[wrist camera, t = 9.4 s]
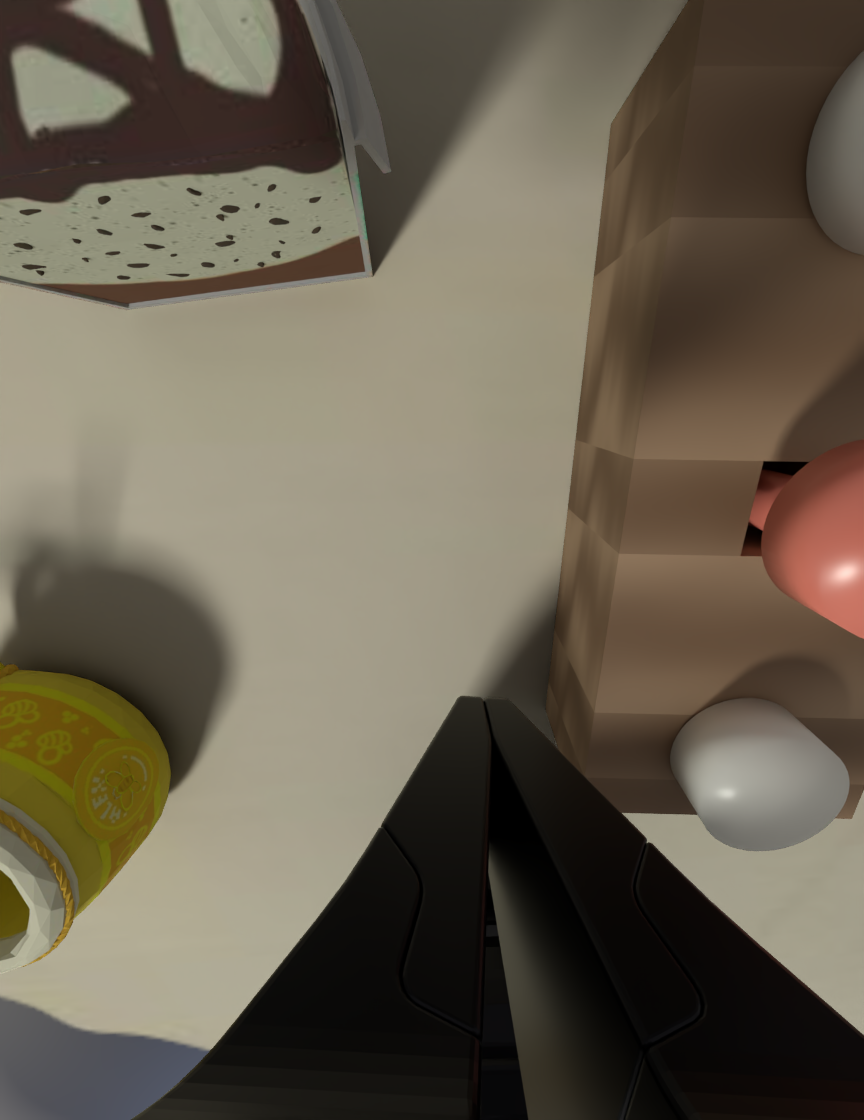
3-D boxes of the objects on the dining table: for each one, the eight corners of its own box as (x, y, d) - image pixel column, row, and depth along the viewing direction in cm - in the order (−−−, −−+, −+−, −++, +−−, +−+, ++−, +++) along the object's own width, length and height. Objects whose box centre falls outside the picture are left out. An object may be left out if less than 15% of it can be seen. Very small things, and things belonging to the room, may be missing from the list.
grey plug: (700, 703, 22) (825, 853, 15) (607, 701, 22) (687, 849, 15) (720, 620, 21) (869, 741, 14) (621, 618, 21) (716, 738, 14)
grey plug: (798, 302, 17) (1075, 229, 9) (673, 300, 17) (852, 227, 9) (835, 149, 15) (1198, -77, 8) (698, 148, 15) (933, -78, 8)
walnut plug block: (750, 714, 23) (851, 819, 17) (545, 709, 23) (579, 811, 17) (919, 125, 15) (1201, -33, 10) (611, 124, 15) (709, -33, 10)
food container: (389, 51, 15) (299, -541, 5) (413, 271, 17) (378, 115, 8) (24, 110, 16) (-614, -326, 6) (89, 315, 18) (-318, 221, 8)
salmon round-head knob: (768, 544, 18) (992, 646, 11) (652, 542, 18) (796, 642, 11) (800, 424, 16) (1085, 448, 9) (674, 422, 16) (856, 444, 9)
